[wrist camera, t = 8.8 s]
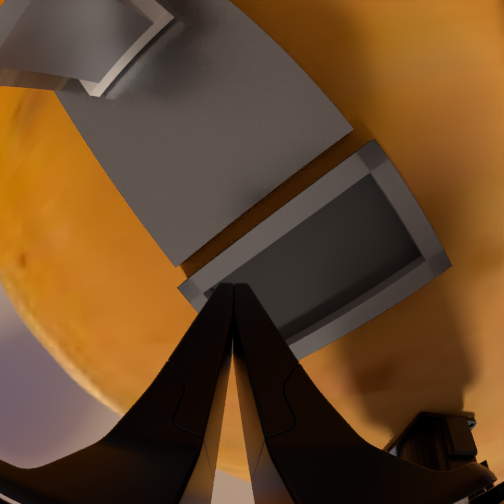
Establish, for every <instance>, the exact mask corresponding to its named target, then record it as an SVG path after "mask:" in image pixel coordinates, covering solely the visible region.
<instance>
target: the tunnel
mask: <svg viewBox="0 0 504 504" xmlns="http://www.w3.org/2000/svg"><path fill="white" fill-rule="evenodd" d="M68 80H69V77H64V76H58V75H52V74H45V73H39V72H31V71H24V70H15V69H6V68H0V86H10V87H24V88H36V89H46V90H55V91H61V90H62V88H63V87H64V86H65V84H66V83H67V81H68Z"/></svg>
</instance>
